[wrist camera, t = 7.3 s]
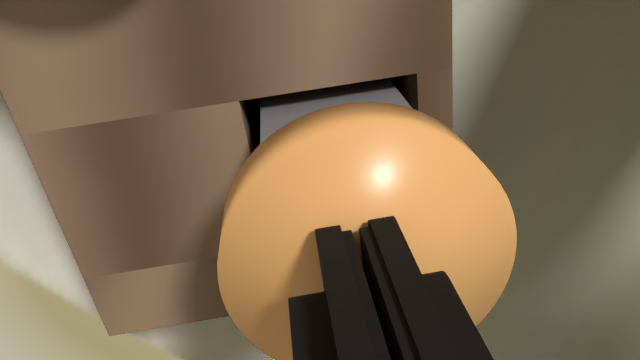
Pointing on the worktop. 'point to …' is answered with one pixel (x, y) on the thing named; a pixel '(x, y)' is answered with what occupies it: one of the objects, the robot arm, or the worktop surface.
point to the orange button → (356, 203)
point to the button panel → (184, 120)
